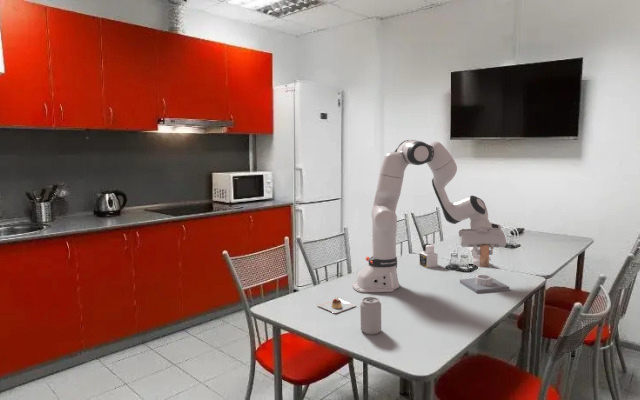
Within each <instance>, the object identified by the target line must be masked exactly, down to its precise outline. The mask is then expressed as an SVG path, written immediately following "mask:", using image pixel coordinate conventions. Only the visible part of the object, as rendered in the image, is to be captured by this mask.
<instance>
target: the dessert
mask: <svg viewBox="0 0 640 400" xmlns="http://www.w3.org/2000/svg"><path fill="white" fill-rule="evenodd" d="M329 303H330V304H331V308H332V309H335V308H338V309H342V307H343V306H342V304H345V305H347V306H350V307H348V308H345V309H342V310H340V311H336V312H335V311H332V310H330V309H328V308H325V307H323V306H326V305H329ZM317 307H320V308H322V309H325V310H327V311H329V312H332V313H334V314H339V313H341V312H344V311H347V310H350V309H352V308H355V307H357V304H354V303H352V302H348V301H347V300H343V299H341V298H339V296H337V297H335V298H333V299H331V300H328V301H325V302H321V303H319V304H317Z"/></svg>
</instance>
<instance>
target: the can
mask: <svg viewBox="0 0 640 400" xmlns="http://www.w3.org/2000/svg"><path fill="white" fill-rule="evenodd" d="M359 307H360V330H361V331H362V332H363V333H364V334H365V335H368V336H369V335H370V336H372V335H377V334H379V333H380V332H381V331H382V303H381V302H380V299H379V298H377V297H376V296H366V297H363V298H362V299H361V302H360V305H359Z"/></svg>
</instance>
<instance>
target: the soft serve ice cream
mask: <svg viewBox="0 0 640 400" xmlns="http://www.w3.org/2000/svg"><path fill="white" fill-rule="evenodd" d="M469 248H470V250H471V252H472V256H473V263H474V265H476V266H475V267H478V268H479V267H480V255H477V254H476V251H475V250H474V249H473V247H469ZM477 249H478V250H480V247H477ZM491 260H492V259H491V256H489V262H490V261H491ZM474 265H473V266H474ZM480 268H481V267H480Z"/></svg>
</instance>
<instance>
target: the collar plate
mask: <svg viewBox="0 0 640 400" xmlns="http://www.w3.org/2000/svg"><path fill="white" fill-rule="evenodd" d="M459 284H461V285H463V286H464V287H466V288H468V289H469V290H471V291H473V292H475V293H476V294H483V293H492V292H500V291H501V292H502V291H503V292H504V291H510V286H509V285H507V284H505V283H503V282H501V281H499V280H497V279H495V278H494V277H493V276H492V275H489V274H476V275H475V277H474V278H465V279H464V278H463V279H459Z"/></svg>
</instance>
